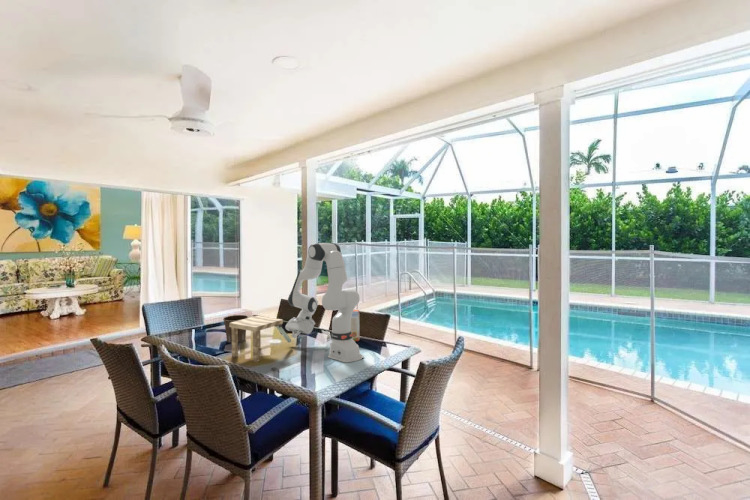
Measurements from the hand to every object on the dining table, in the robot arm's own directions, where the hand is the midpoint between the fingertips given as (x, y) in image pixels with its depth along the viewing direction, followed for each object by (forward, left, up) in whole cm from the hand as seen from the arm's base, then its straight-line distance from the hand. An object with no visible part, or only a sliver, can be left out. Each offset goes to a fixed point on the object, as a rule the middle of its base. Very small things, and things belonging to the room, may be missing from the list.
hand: (293, 337), depth 245 cm
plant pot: (+39, +24, -7) cm, 46 cm away
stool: (+1, +25, -6) cm, 25 cm away
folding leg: (-1, +3, -2) cm, 4 cm away
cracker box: (-11, -36, -7) cm, 39 cm away
